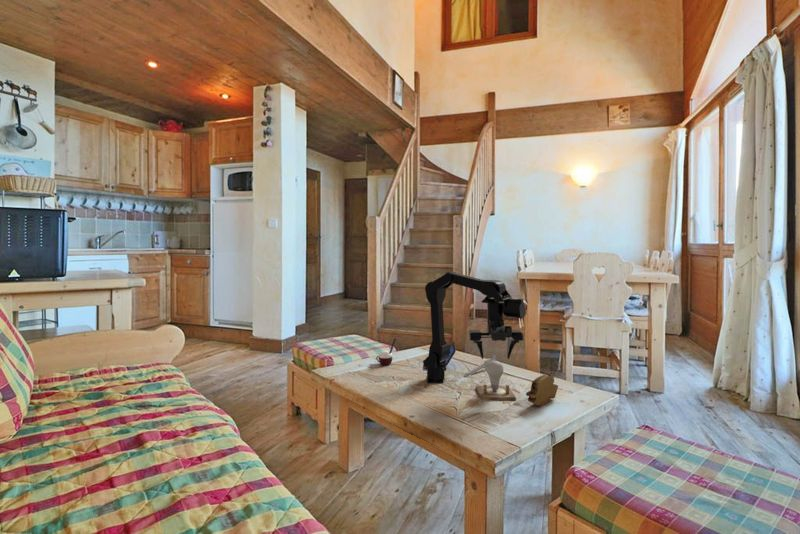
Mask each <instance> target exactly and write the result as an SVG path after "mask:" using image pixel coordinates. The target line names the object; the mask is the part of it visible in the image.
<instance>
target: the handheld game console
mask: <svg viewBox="0 0 800 534" xmlns="http://www.w3.org/2000/svg"><path fill="white" fill-rule="evenodd" d="M450 352H451V354H450V355H449V358H448V359H447V360H446V363H445V364H443V368H444V370H445V371H447V367H448V365H449V363H450V361H451V360H452V358H453V356H454V355H455V353H456V344H455V342H452V344H450ZM425 369H426V371H427V367H425V366H424V370H425Z"/></svg>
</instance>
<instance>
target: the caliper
mask: <svg viewBox="0 0 800 534" xmlns="http://www.w3.org/2000/svg"><path fill="white" fill-rule="evenodd" d="M491 361H497V356H496V355H495V354H494V353H492V354H490V357H489V358H487V359H485V360H484V361H483V362H481V364H479V365H477V366H475V367H474V368H472V369H470V370H469V371H467V372H466V373H465V374H464V375H463V376H464V377H465V376H467V377H470V376H469V375H471V376H472V375H475V373H477V372H478V371H480V370H482V369H483V368H486V367H487V364H488V363H489V362H491Z"/></svg>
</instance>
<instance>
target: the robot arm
mask: <svg viewBox="0 0 800 534" xmlns="http://www.w3.org/2000/svg"><path fill="white" fill-rule="evenodd" d="M453 284H454V285H458V286H461V287H466V288H468V289H472V290H475V291H478V292H479V293H481V294H482V295H483V296H485V297H484V298H483V299H482V300H481V303H482V304H486V305H487V306H486V308H487V309H486V310H487V311H486V313H487V315H486V316H487V317H486V319H487V320H486V321H487V323H486V324H487V325H486V326H487V327H486V332H483V331H480V329H469V330H468V331H467V332H468V333H467V334H468V335H467V337H468V339H469V340H470V341H472V343H474V344H476V345H477V346H476V347H477V348H478V349H477V350H478V352H479V354H480V357H481V360H483V359H484V349H483V341H482V338H483V339H484V338H485V339H489V338H491V340H492V341H494V342H497V341H502V342H505V341H507V346H506V358H507V360H509V359H510V357H511V354H512V352H513V349H514V347H515V345H516V344H519V343H520V341H524V333H523V332H522V331H521V330H519V329H513V327H512V326H511V325H505V320H504V316H505V317H506V318H510V319H511V318H514V319H521V320H523V319H524V318H525V316H526V313H527V310H526V309H527V308H526V304H525V302H524V299H523V298H513V297H512V296H511V294H510V292H508V290H507V288H506V284H505V282H503V281H502V280H497V279H481V278H477V277H474V276H473V277H472V276H469V275H466V274H461V273H457V272H456V271H448V272H445V273H444V274H443V275H442V276H441V277H438V278H437V279H435V280H433V281H428V282H427V284H426V285H425V287H424V292H425V296H426V299H427V300H428V301H427V302H428V303H429V306H430V321H431V323H430V325H431V342H430V345H429V347H428V356H427V357H426V358H425V359H424V360H423V361H422V363H423V366H424V368H425V367H427V370H426V383H440V384H441V383H444V382H445V381H444V380H445V377H446V376H445V374H446V373H445V371H446V370H444V368H443V364H445V363H446V360H447V359H448V358H449V355H450V354H451V352H450V347H451V343H447V341H446V338H445V326H444V325H445V324H444V321H445V320H444V308H443V307H444V306H443V304H444V300H445V298H446V294H447V293H446V292H447V289H449V288H450V287H451V286H452V285H453Z"/></svg>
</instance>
